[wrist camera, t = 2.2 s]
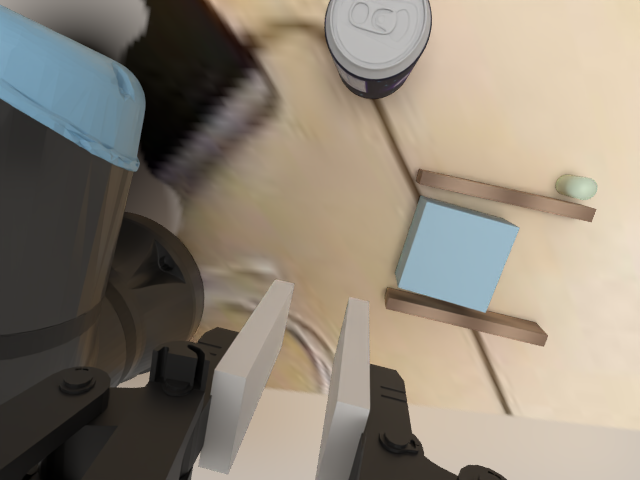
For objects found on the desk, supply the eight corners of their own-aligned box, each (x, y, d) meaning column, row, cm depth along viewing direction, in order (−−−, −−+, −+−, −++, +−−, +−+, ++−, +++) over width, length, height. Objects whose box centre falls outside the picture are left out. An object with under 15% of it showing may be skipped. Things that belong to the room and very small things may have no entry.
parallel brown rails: (384, 297, 37) (385, 308, 34) (419, 169, 34) (423, 170, 32) (532, 333, 36) (543, 346, 34) (579, 204, 33) (596, 209, 31)
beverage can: (396, 109, 33) (412, 91, 22) (328, 88, 33) (308, 59, 22) (421, 34, 32) (452, -28, 20) (350, 12, 32) (341, -61, 20)
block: (394, 271, 37) (398, 287, 33) (420, 195, 35) (426, 201, 31) (472, 294, 36) (485, 312, 32) (502, 218, 35) (519, 227, 31)
